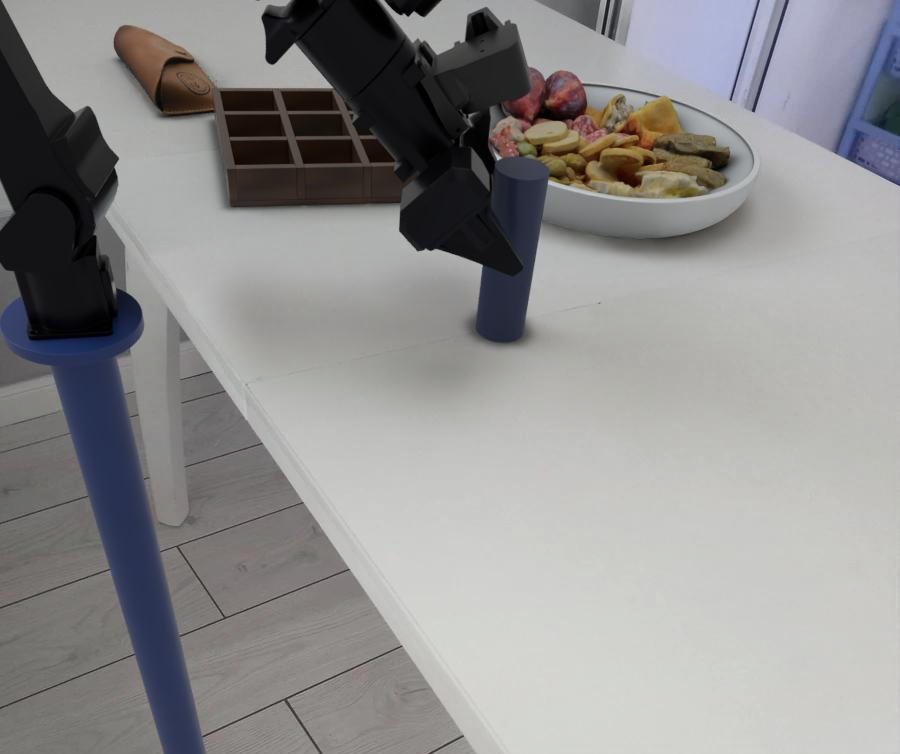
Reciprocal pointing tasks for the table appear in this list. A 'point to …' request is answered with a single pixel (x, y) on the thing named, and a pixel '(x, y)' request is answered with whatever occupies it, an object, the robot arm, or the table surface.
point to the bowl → (626, 157)
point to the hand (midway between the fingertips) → (516, 241)
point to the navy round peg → (521, 218)
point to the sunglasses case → (164, 71)
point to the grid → (299, 149)
